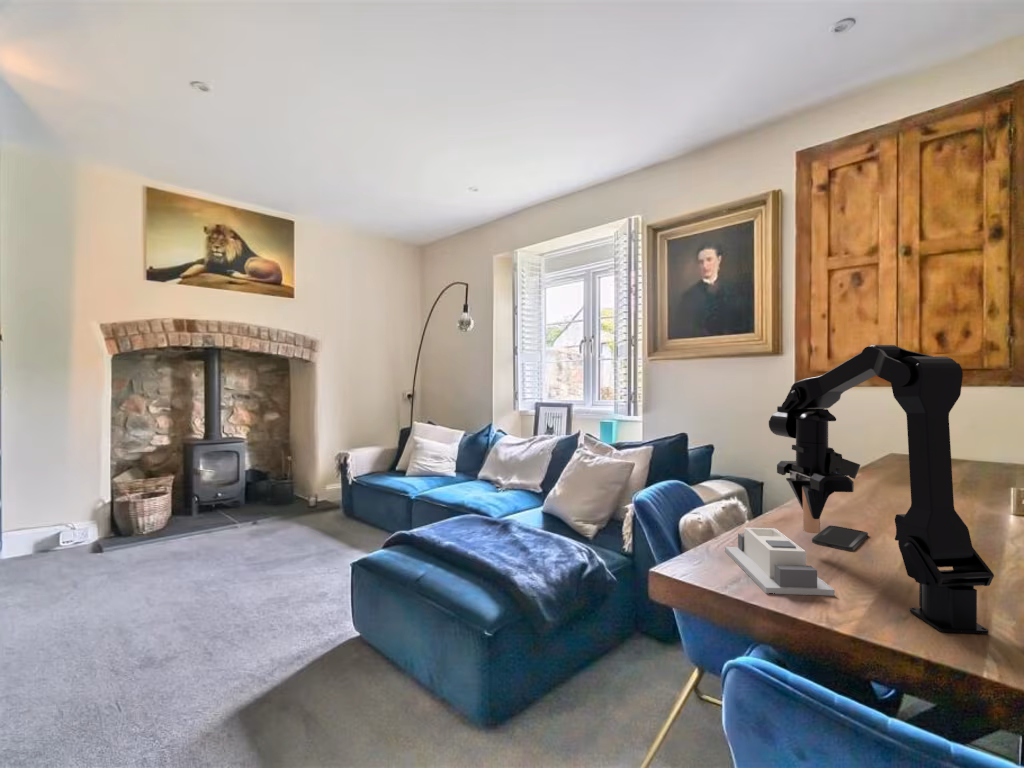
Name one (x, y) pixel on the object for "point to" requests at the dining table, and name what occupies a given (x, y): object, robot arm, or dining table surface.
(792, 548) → the white socket block
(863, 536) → the phone
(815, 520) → the orange-brown tapered capsule
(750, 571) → the board
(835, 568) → the dining table surface
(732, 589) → the dining table surface
